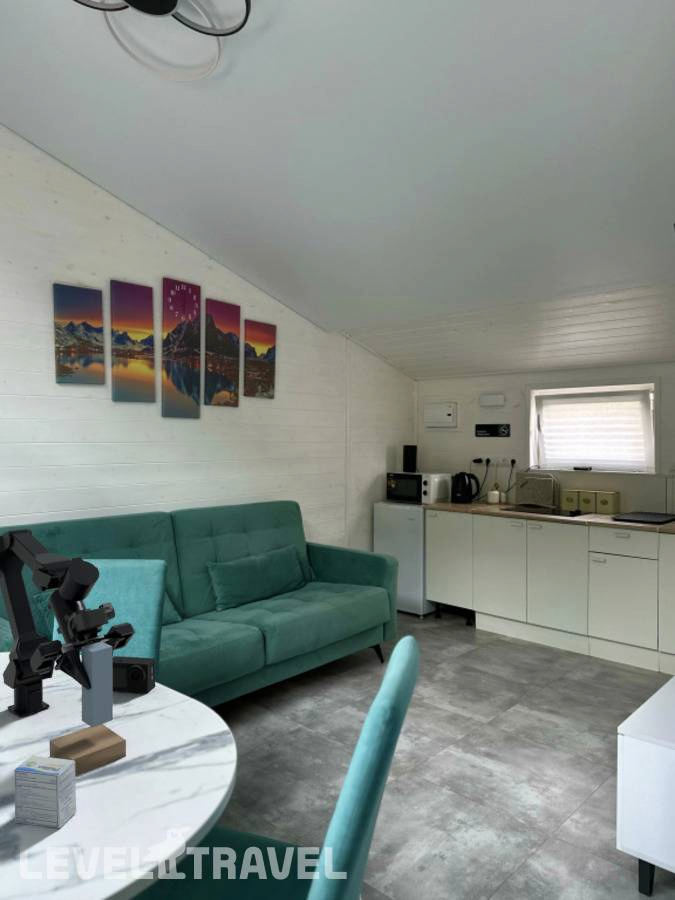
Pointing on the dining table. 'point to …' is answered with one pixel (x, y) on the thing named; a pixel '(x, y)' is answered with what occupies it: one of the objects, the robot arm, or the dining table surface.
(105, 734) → the walnut block
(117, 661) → the digital camera
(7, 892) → the dining table surface
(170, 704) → the dining table surface
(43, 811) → the medicine box
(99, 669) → the slate pillar
